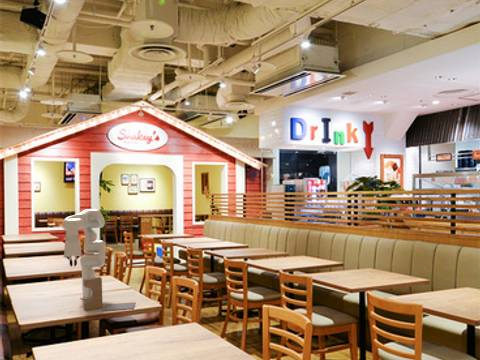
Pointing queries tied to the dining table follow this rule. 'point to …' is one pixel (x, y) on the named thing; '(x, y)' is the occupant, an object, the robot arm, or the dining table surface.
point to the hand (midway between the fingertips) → (73, 265)
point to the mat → (118, 306)
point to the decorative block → (94, 293)
